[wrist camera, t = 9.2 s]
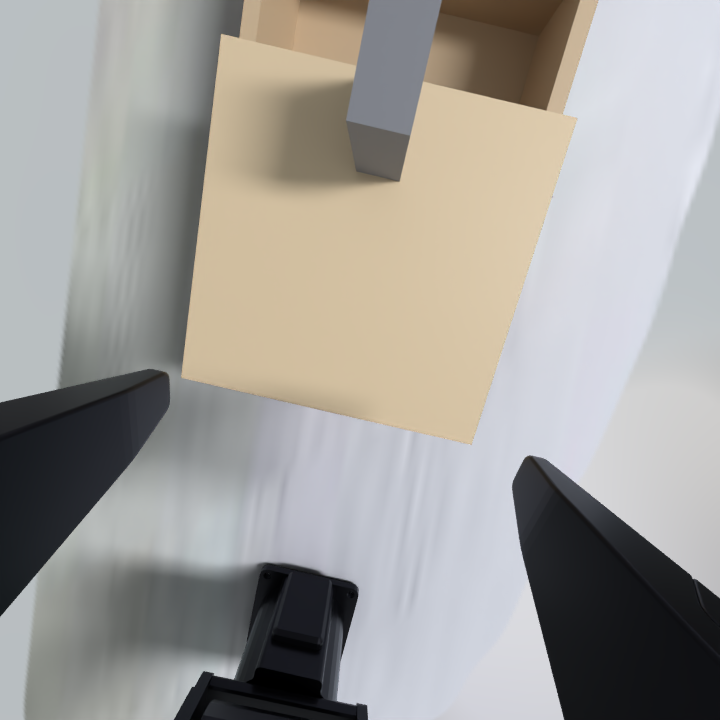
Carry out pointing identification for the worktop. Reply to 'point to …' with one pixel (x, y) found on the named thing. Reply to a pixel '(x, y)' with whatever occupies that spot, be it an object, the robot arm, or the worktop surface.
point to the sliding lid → (365, 228)
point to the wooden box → (449, 42)
